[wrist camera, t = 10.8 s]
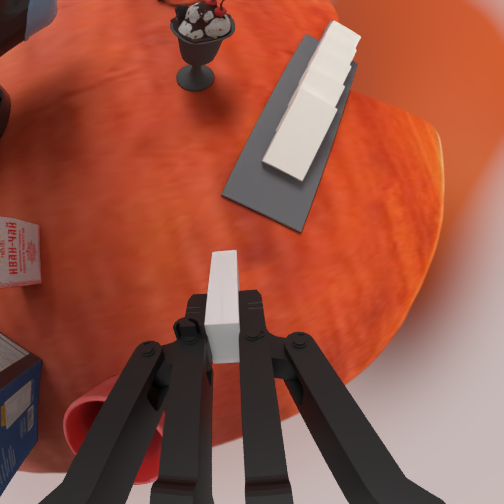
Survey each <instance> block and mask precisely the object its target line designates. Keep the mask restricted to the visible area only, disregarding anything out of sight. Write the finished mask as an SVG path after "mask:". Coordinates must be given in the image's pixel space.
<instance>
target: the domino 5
mask: <svg viewBox="0 0 504 504" xmlns="http://www.w3.org/2000/svg"><path fill="white" fill-rule="evenodd" d="M337 110H338V109H337V108H335V107H333V106H332V105H330V104H328V103H327V102H325V101H323V100H322V99H320V98H318V97H316V96H315V95H313V94H311V93H309V92H307V91H306V90H304V89H302V88H300V89H299V90H298V92H297V93H296V95H295V97H294V99H293V101H292V103H291V105H290V107H289V109H288V110H287V112H286V114H285V116H284V118H283V120H282V122H281V124H280V126H279V128H278V130H277V132H276V134H275V136H274V137H273V139H272V141H271V143H270V145H269V147H268V149H267V151H266V153H265V155H264V157H263V159H262V162H264V163H266V164H268V165H270V166H272V167H274V168H276V169H278V170H280V171H282V172H284V173H286V174H287V175H289V176H291V177H293V178H295V179H297V180H299V181H303V179H304V177H305V175H306V173H307V171H308V169H309V167H310V165H311V163H312V161H313V159H314V157H315V155H316V153H317V151H318V149H319V147H320V145H321V142H322V140H323V138H324V136H325V134H326V132H327V130H328V128H329V126H330V124H331V122H332V120H333V118H334V116H335V114H336V112H337Z"/></svg>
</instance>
